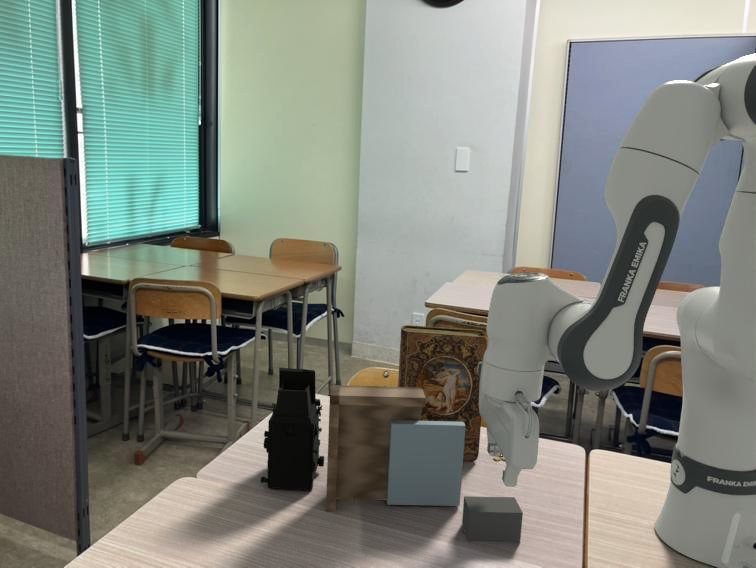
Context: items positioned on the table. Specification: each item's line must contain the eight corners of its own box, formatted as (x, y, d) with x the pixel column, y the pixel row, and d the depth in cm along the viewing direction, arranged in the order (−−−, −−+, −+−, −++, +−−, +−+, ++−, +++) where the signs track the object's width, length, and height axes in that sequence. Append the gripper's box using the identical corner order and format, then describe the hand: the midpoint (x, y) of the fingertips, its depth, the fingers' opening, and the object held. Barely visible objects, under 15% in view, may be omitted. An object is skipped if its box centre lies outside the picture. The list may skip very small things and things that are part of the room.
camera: (327, 458, 115) (330, 357, 112) (317, 494, 102) (321, 380, 98) (275, 455, 115) (277, 354, 112) (259, 491, 102) (260, 377, 99)
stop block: (512, 526, 95) (514, 497, 94) (520, 543, 90) (522, 512, 90) (461, 525, 94) (464, 496, 94) (467, 542, 90) (469, 511, 89)
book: (393, 455, 118) (400, 331, 114) (395, 443, 123) (402, 324, 119) (478, 462, 116) (487, 337, 112) (476, 450, 122) (485, 330, 118)
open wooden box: (415, 497, 102) (421, 387, 99) (418, 512, 97) (425, 397, 94) (327, 495, 101) (330, 385, 98) (325, 511, 97) (329, 395, 93)
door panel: (457, 500, 101) (463, 421, 99) (459, 505, 99) (465, 425, 97) (386, 499, 100) (390, 419, 98) (387, 504, 99) (391, 423, 96)
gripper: (556, 408, 78) (543, 506, 81) (513, 362, 99) (504, 441, 101) (508, 406, 78) (496, 504, 80) (475, 359, 98) (467, 439, 100)
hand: (500, 468), depth 91 cm, fingers open, 8 cm apart
